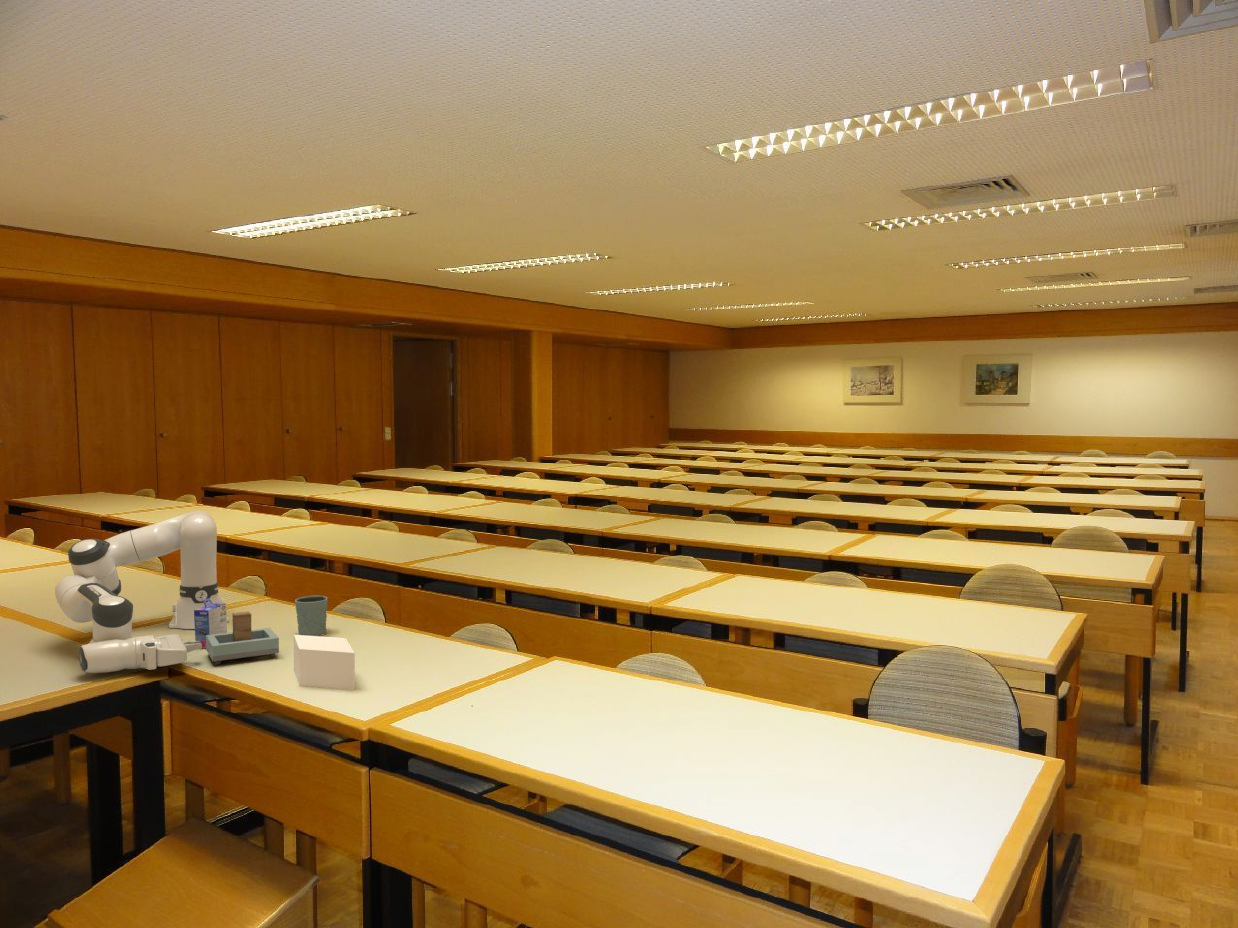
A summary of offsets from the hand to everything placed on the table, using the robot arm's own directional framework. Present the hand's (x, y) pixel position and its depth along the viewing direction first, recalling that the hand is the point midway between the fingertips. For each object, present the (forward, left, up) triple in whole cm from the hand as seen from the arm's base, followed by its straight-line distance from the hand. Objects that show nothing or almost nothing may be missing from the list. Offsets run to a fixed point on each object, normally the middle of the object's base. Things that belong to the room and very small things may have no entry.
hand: (201, 645), depth 245 cm
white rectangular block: (+33, +27, -6) cm, 43 cm away
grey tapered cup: (-18, +35, -6) cm, 40 cm away
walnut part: (-1, +11, -2) cm, 11 cm away
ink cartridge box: (-21, +5, -6) cm, 22 cm away
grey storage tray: (-1, +11, -5) cm, 12 cm away
